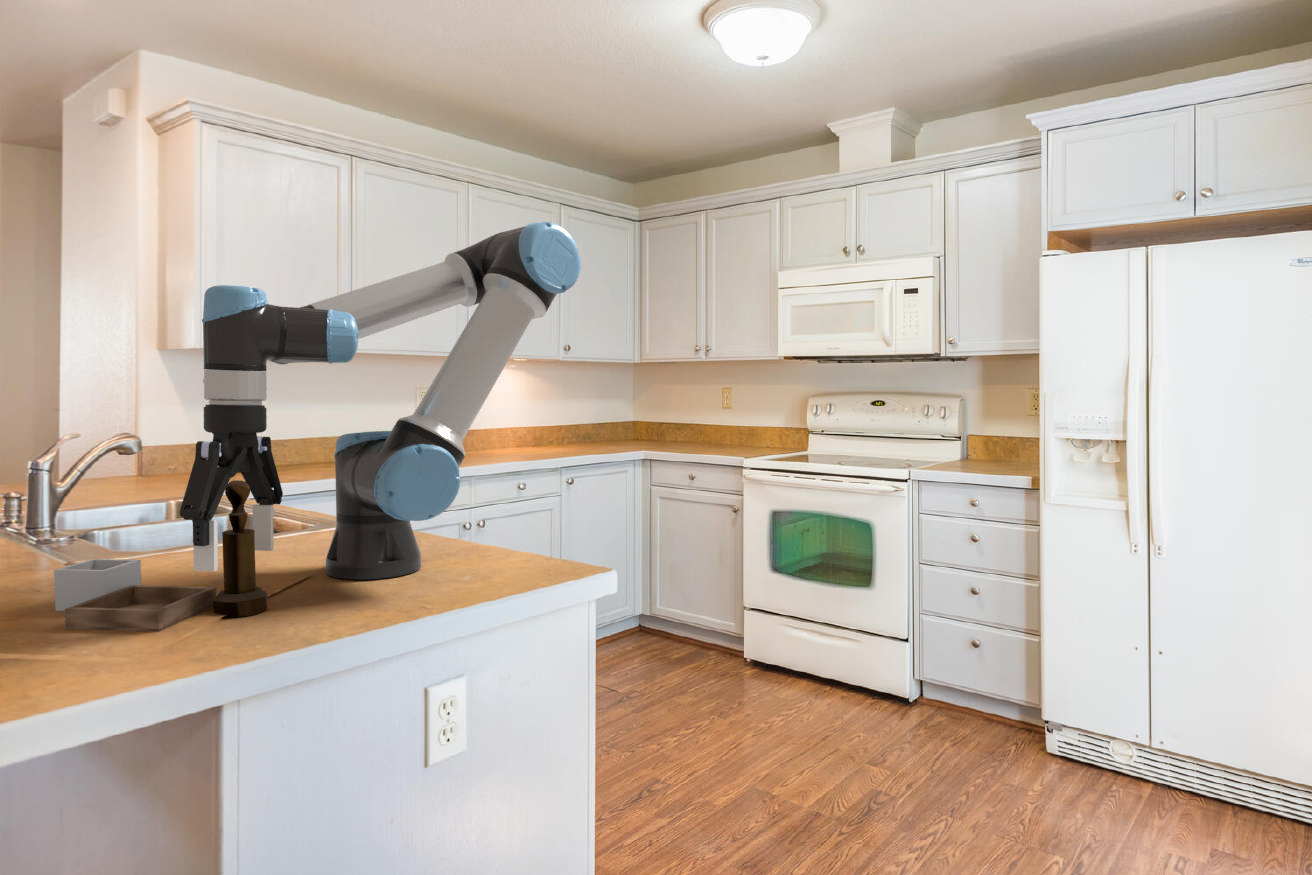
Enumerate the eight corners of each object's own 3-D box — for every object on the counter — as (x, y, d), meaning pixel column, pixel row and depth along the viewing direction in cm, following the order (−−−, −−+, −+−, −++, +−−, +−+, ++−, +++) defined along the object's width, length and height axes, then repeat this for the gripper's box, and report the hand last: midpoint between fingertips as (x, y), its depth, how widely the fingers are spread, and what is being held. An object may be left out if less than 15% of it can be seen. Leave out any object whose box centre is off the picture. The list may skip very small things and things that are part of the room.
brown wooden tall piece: (226, 605, 115) (223, 477, 113) (274, 604, 115) (272, 477, 114) (204, 618, 108) (201, 483, 107) (255, 618, 108) (252, 483, 107)
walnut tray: (216, 608, 113) (216, 587, 113) (159, 635, 101) (158, 611, 101) (133, 606, 113) (132, 585, 113) (65, 632, 101) (65, 608, 101)
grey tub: (141, 601, 116) (140, 559, 116) (105, 615, 109) (104, 571, 109) (94, 600, 116) (93, 558, 116) (55, 614, 109) (54, 569, 109)
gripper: (258, 401, 122) (259, 542, 123) (145, 403, 97) (147, 579, 99) (307, 402, 122) (307, 543, 123) (206, 404, 97) (207, 581, 98)
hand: (236, 559), depth 111 cm, fingers open, 13 cm apart
